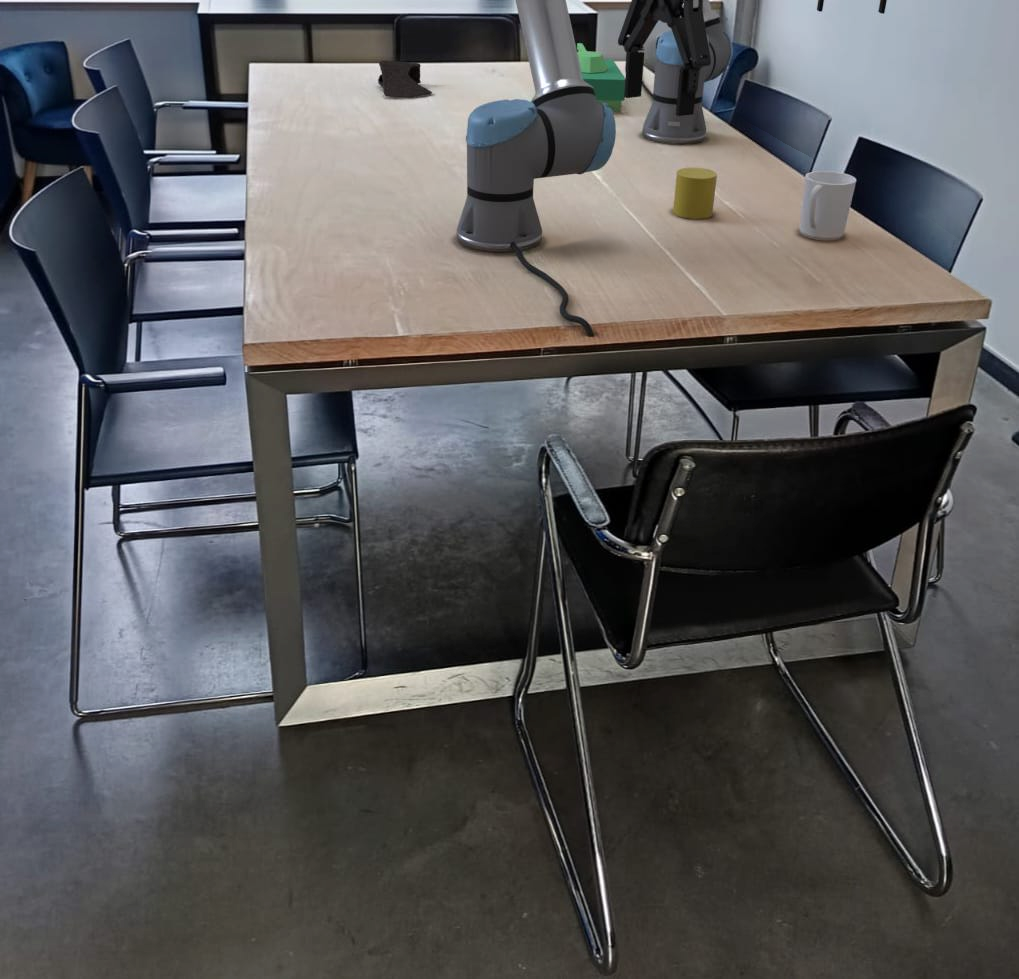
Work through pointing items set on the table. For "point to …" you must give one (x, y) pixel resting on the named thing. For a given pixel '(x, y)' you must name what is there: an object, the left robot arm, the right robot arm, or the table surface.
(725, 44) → the right robot arm
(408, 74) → the axe head
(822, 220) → the mug
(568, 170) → the left robot arm
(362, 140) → the table surface
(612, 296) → the table surface
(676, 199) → the canister
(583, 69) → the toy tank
